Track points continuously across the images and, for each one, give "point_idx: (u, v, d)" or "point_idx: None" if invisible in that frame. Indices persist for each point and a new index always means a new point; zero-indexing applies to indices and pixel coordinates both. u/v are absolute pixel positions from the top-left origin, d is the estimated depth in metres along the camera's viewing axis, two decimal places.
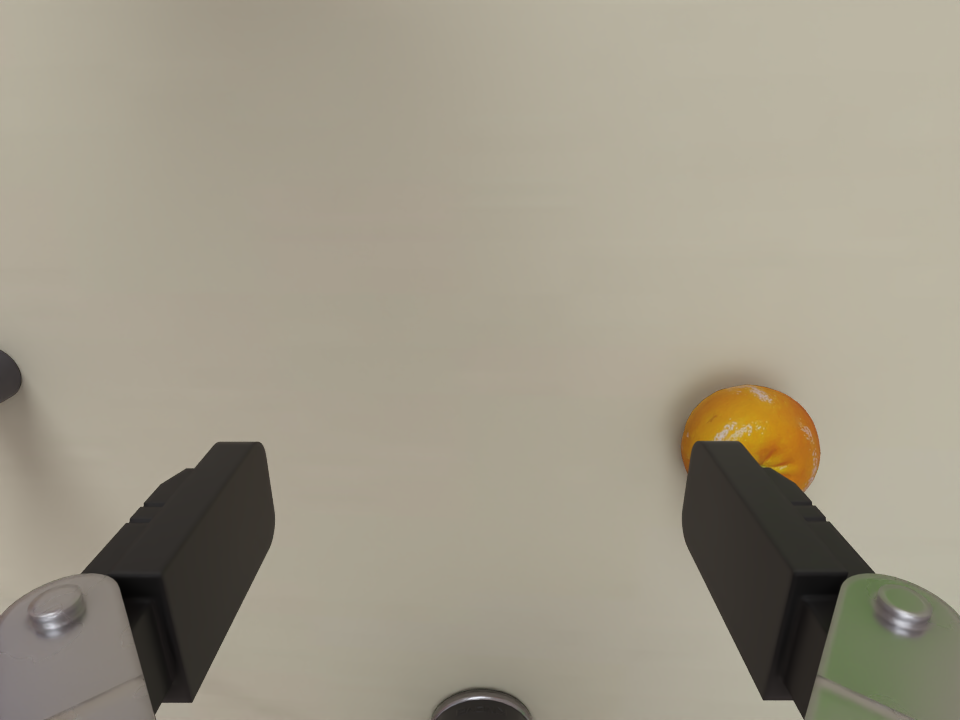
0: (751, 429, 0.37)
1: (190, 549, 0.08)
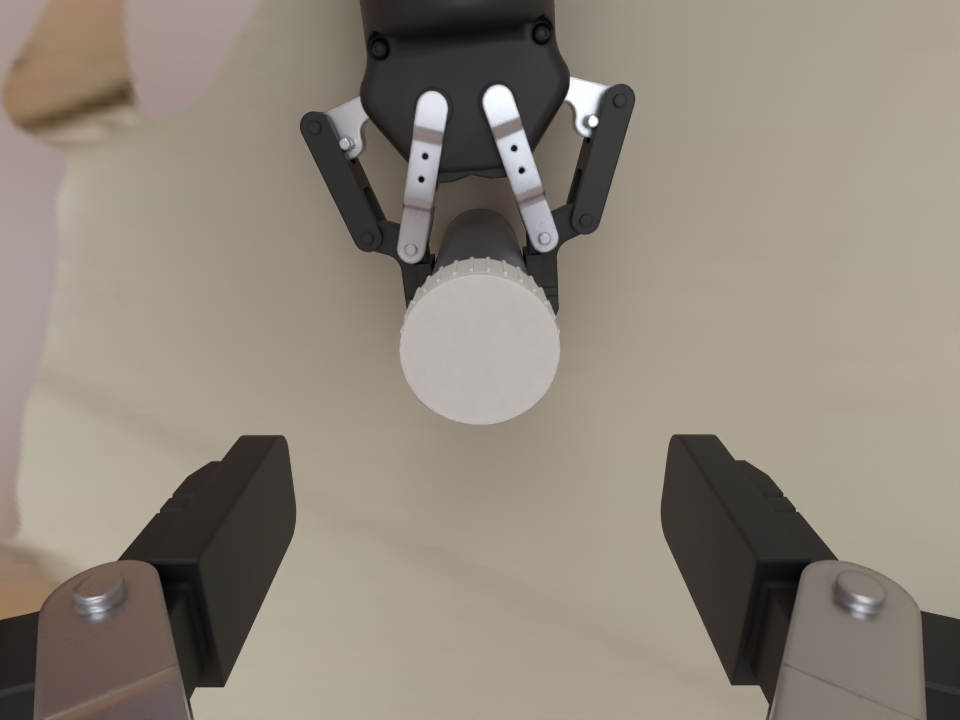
0: None
1: (222, 538, 0.08)
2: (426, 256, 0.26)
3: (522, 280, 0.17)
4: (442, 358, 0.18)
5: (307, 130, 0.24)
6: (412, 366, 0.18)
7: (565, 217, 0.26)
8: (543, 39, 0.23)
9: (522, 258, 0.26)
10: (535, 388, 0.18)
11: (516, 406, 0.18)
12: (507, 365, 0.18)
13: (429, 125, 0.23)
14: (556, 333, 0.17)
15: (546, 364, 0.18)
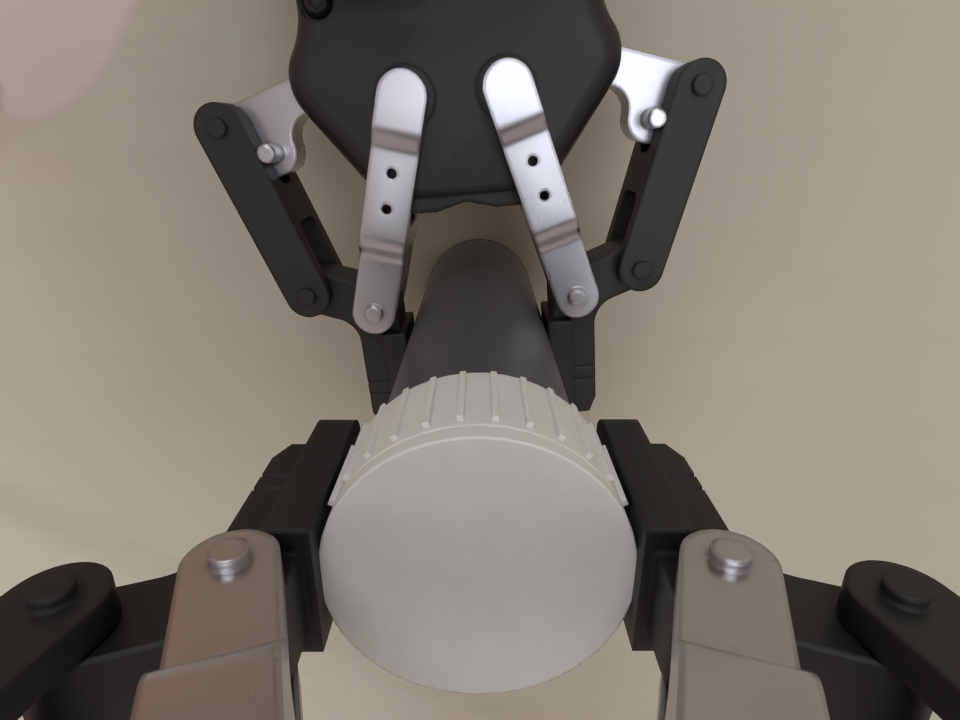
0: None
1: (322, 511, 0.09)
2: (398, 321, 0.18)
3: (563, 436, 0.09)
4: (403, 586, 0.09)
5: (205, 132, 0.15)
6: (344, 599, 0.09)
7: (608, 264, 0.17)
8: None
9: (543, 326, 0.17)
10: (586, 635, 0.09)
11: (548, 664, 0.10)
12: (532, 597, 0.09)
13: (397, 124, 0.14)
14: (632, 544, 0.09)
15: (609, 595, 0.09)
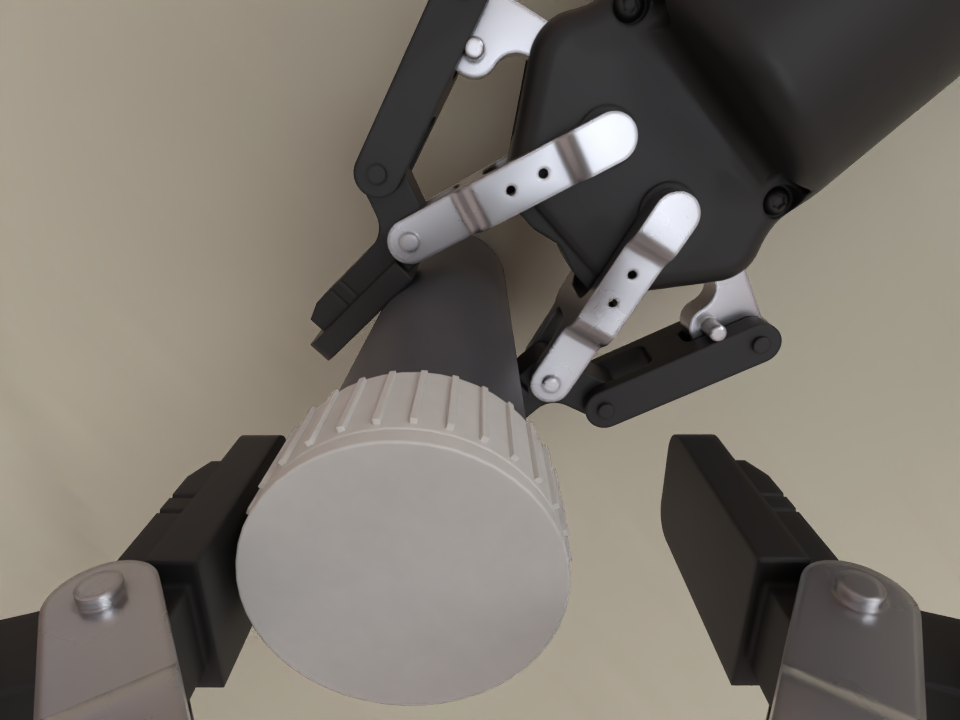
0: None
1: (222, 538, 0.08)
2: (415, 264, 0.17)
3: (379, 419, 0.08)
4: (352, 629, 0.09)
5: None
6: (318, 667, 0.09)
7: (588, 383, 0.18)
8: (771, 208, 0.16)
9: None
10: (545, 580, 0.08)
11: (537, 624, 0.09)
12: (464, 576, 0.08)
13: (588, 150, 0.14)
14: (502, 476, 0.08)
15: (530, 533, 0.08)
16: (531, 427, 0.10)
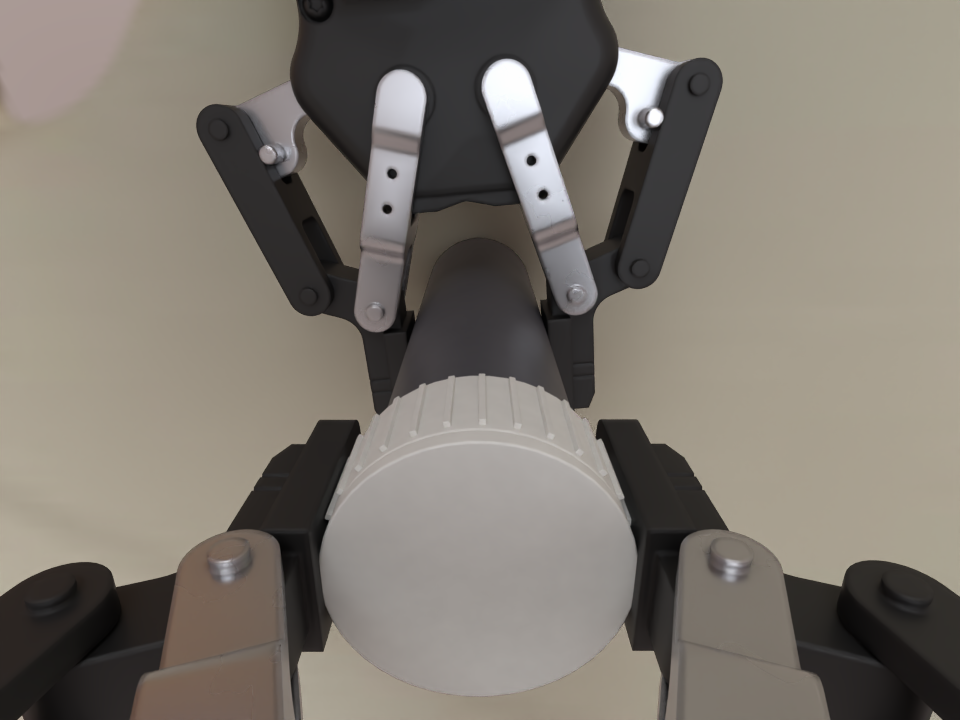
0: None
1: (322, 511, 0.09)
2: (399, 320, 0.18)
3: (340, 487, 0.09)
4: (486, 639, 0.09)
5: (208, 133, 0.15)
6: (500, 682, 0.10)
7: (607, 262, 0.17)
8: None
9: (542, 324, 0.17)
10: (562, 487, 0.08)
11: (601, 521, 0.08)
12: (505, 537, 0.09)
13: (397, 125, 0.15)
14: (434, 451, 0.08)
15: (506, 467, 0.08)
16: (479, 378, 0.10)
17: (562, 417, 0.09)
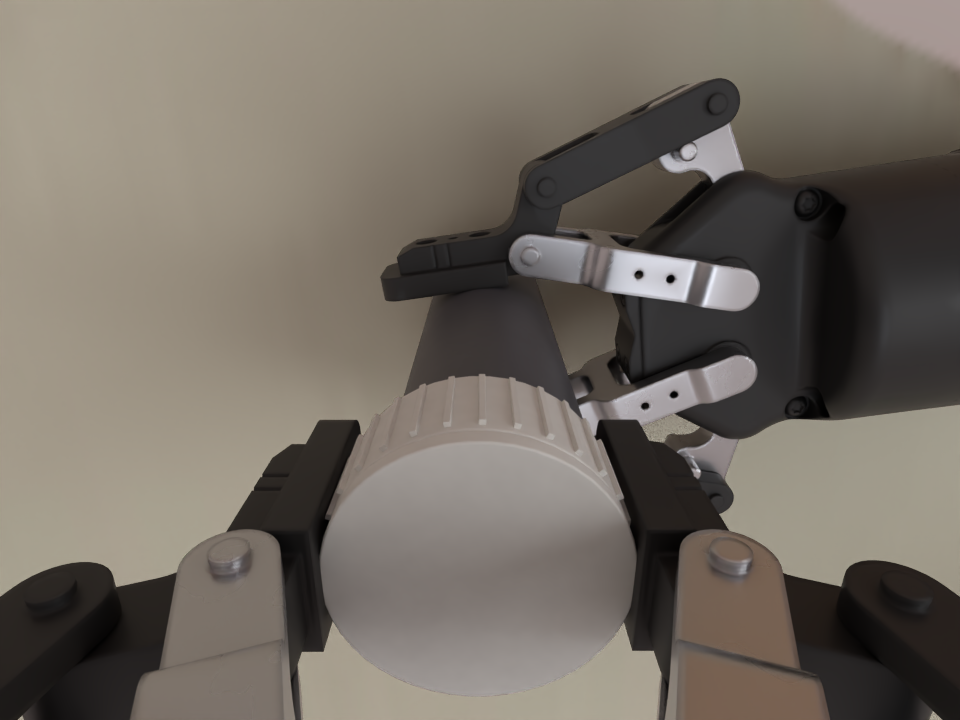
0: None
1: (322, 511, 0.09)
2: (515, 273, 0.17)
3: (341, 487, 0.09)
4: (486, 638, 0.09)
5: (713, 91, 0.15)
6: (500, 682, 0.10)
7: None
8: (789, 409, 0.19)
9: None
10: (561, 487, 0.08)
11: (601, 521, 0.09)
12: (505, 537, 0.09)
13: (715, 287, 0.16)
14: (434, 451, 0.08)
15: (506, 467, 0.08)
16: (479, 378, 0.10)
17: (562, 417, 0.10)
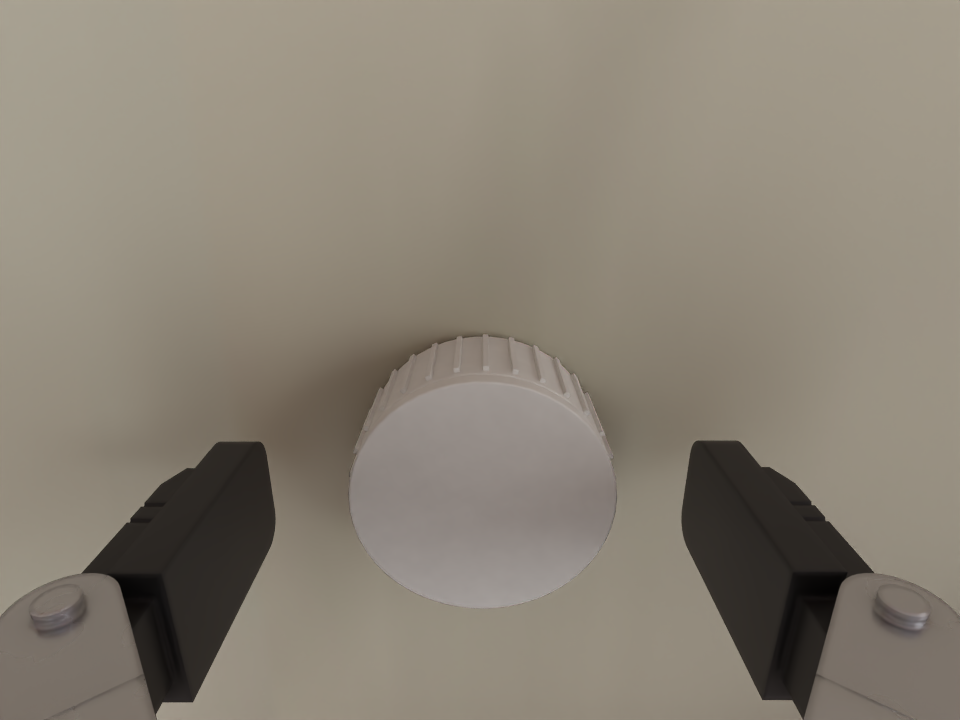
0: None
1: (191, 548, 0.08)
2: None
3: (367, 425, 0.11)
4: (489, 555, 0.11)
5: None
6: (501, 595, 0.11)
7: None
8: None
9: None
10: (551, 421, 0.10)
11: (585, 451, 0.10)
12: (505, 465, 0.10)
13: None
14: (446, 390, 0.10)
15: (506, 403, 0.10)
16: (483, 337, 0.12)
17: (553, 369, 0.11)
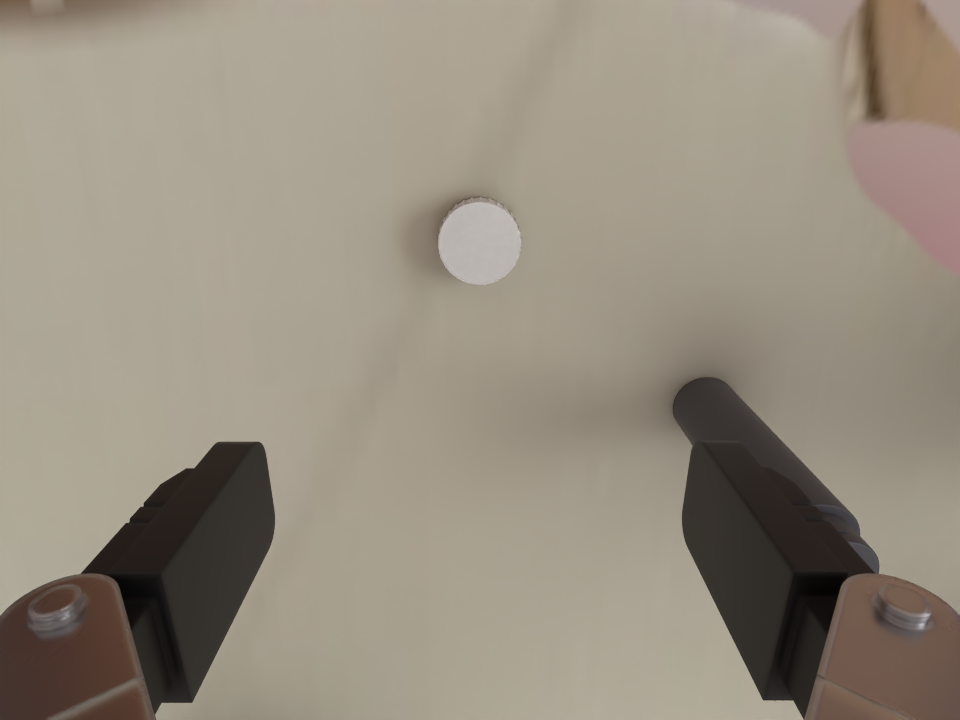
0: None
1: (190, 549, 0.08)
2: None
3: (443, 220, 0.34)
4: (481, 263, 0.35)
5: None
6: (485, 279, 0.35)
7: None
8: None
9: None
10: (499, 215, 0.34)
11: (510, 225, 0.34)
12: (486, 230, 0.34)
13: None
14: (468, 204, 0.33)
15: (486, 209, 0.34)
16: None
17: (502, 205, 0.35)
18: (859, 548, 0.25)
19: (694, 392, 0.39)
